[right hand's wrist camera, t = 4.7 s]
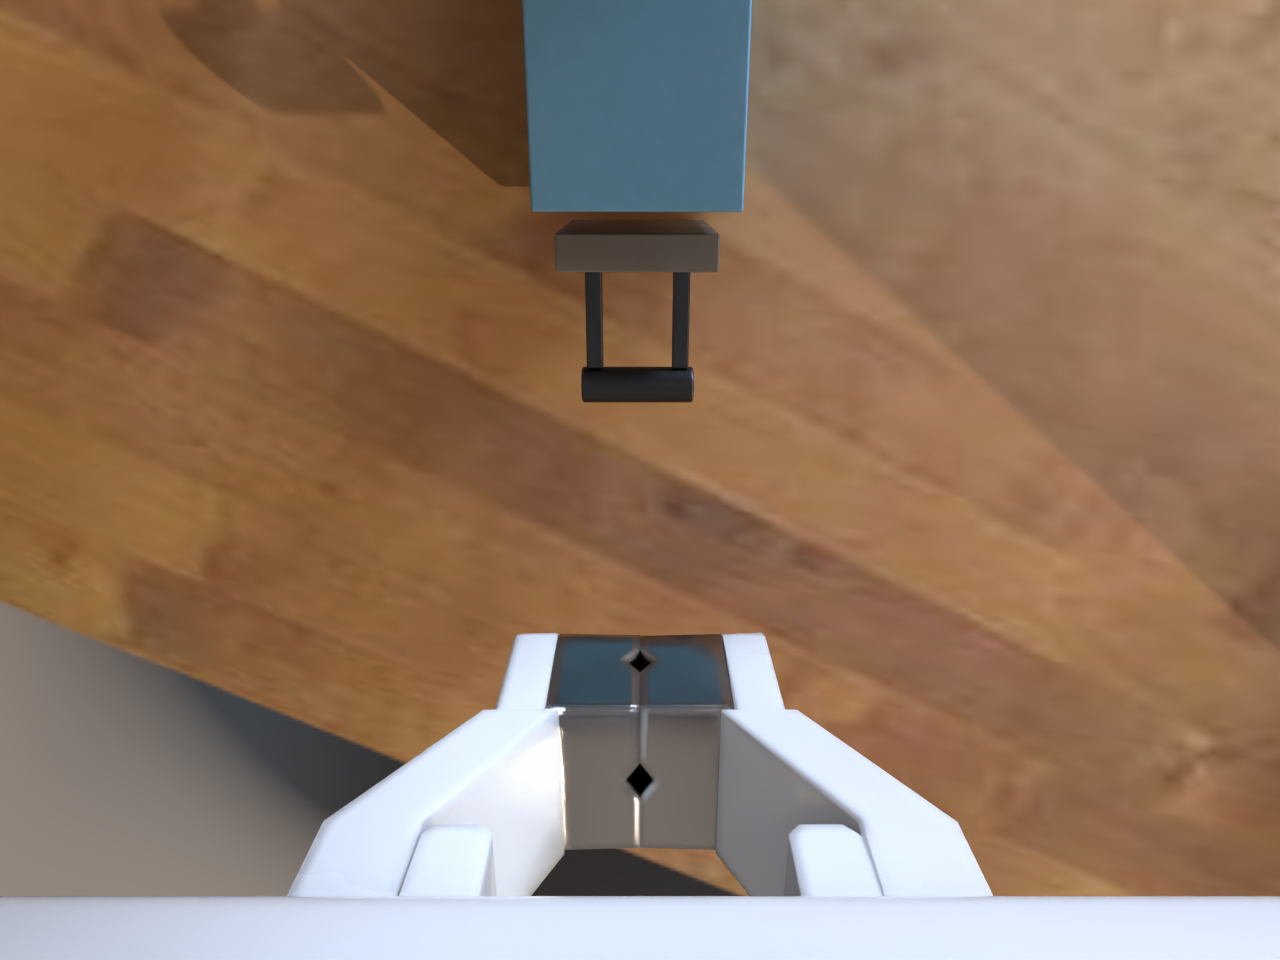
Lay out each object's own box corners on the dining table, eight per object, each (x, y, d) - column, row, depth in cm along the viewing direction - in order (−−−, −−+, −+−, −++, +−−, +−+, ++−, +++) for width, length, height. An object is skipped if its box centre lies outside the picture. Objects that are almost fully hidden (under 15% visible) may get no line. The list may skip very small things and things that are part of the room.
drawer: (699, 379, 36) (713, 429, 29) (575, 378, 36) (560, 429, 29) (714, -189, 29) (737, -300, 22) (560, -190, 29) (536, -300, 22)
